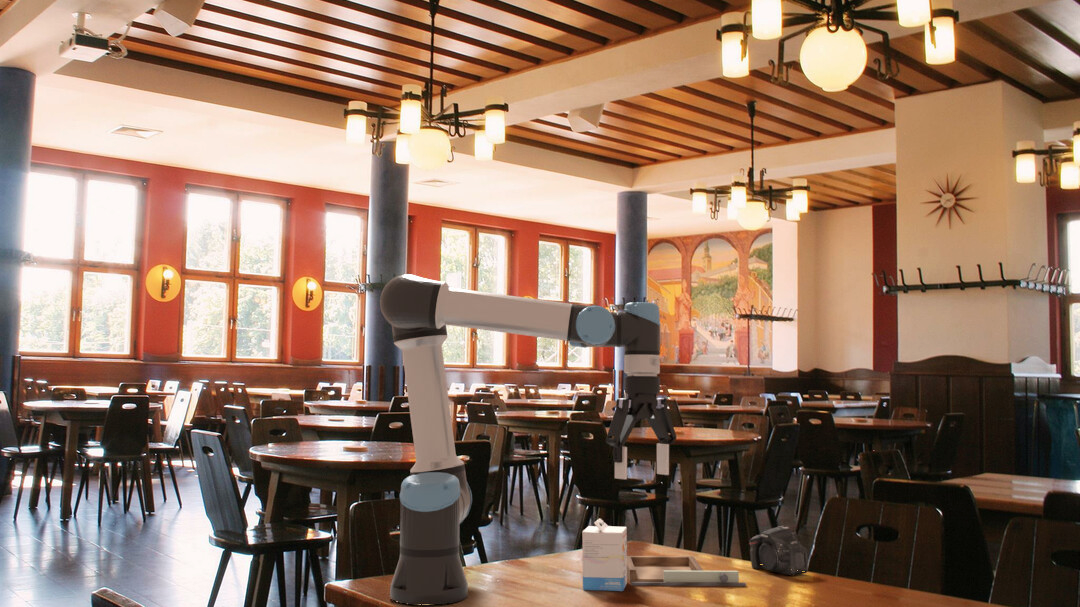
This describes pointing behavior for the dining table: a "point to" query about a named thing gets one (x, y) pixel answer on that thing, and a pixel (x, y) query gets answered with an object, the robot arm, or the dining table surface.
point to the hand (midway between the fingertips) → (642, 476)
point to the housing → (653, 567)
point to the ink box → (604, 557)
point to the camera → (778, 552)
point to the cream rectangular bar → (701, 576)
